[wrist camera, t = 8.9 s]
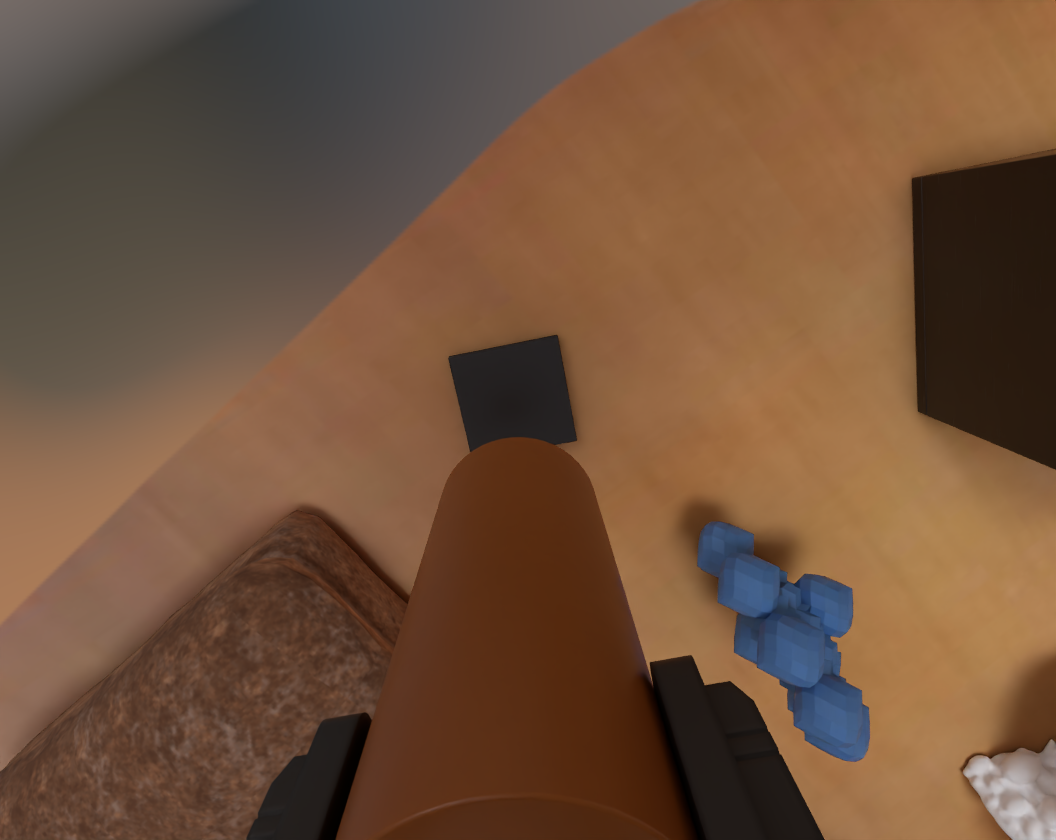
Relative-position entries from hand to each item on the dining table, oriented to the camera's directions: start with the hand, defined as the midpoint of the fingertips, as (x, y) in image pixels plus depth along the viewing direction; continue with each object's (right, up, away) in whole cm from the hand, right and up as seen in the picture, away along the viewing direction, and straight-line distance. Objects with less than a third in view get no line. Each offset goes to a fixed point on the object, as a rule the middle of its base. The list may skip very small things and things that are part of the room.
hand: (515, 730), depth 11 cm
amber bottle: (0, +2, +9) cm, 9 cm away
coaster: (-1, +7, +24) cm, 25 cm away
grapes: (+14, -3, +27) cm, 30 cm away
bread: (-18, -14, +29) cm, 37 cm away
